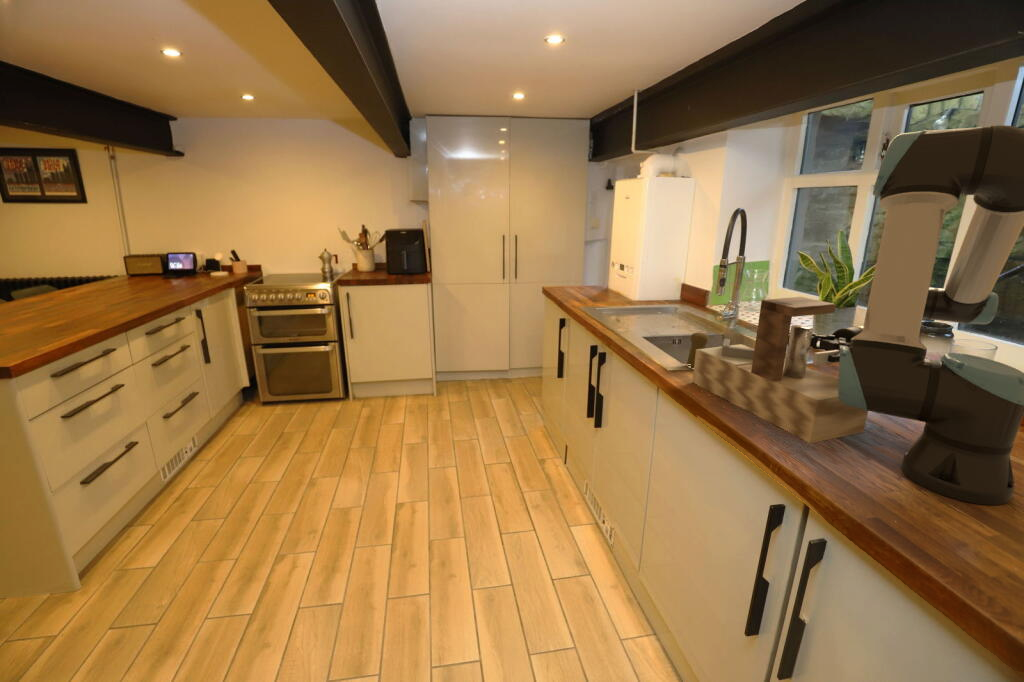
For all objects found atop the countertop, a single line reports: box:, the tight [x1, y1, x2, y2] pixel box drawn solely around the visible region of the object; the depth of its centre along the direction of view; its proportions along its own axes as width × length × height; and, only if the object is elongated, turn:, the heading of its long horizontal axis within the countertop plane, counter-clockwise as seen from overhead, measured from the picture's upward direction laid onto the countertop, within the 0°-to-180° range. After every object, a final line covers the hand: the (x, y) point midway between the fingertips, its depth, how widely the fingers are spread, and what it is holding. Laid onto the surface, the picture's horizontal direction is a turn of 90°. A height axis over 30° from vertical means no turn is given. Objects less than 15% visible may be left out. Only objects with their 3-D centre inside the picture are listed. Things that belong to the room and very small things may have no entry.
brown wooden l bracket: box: [751, 296, 837, 382], centre depth 110 cm, size 9×12×18 cm
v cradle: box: [698, 338, 755, 366], centre depth 127 cm, size 14×14×3 cm
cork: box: [686, 332, 709, 368], centre depth 147 cm, size 6×6×11 cm
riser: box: [692, 343, 869, 444], centre depth 120 cm, size 38×16×10 cm, turn 18°
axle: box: [783, 324, 814, 379], centre depth 111 cm, size 4×4×12 cm
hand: (788, 350), depth 110 cm, fingers open, 13 cm apart
